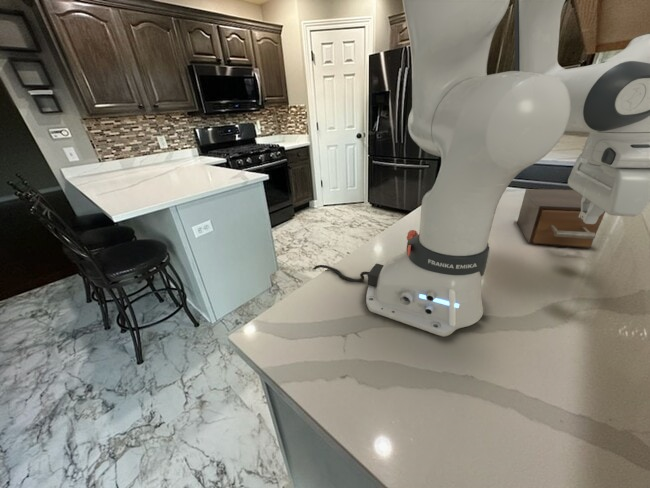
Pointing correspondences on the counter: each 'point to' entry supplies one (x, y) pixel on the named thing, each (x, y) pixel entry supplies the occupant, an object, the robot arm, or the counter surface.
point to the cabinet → (545, 200)
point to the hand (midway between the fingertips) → (586, 221)
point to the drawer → (565, 228)
